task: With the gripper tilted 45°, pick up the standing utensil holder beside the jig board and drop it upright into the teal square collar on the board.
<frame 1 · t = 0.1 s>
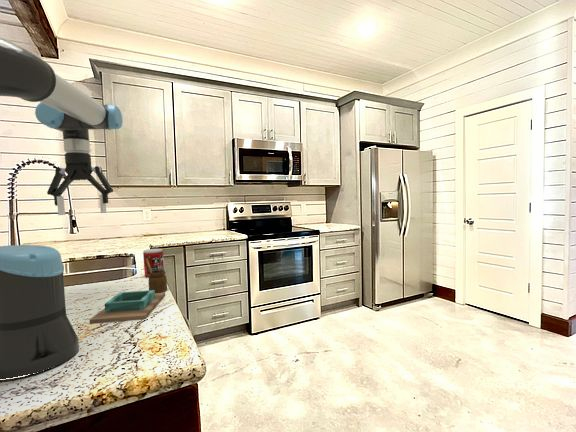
hand: (82, 214, 108), 28 cm above the counter, tool pointing down, fingers open, 13 cm apart
utensil holder: (158, 291, 108), on the counter
cradle jig: (131, 307, 92), on the counter
canned food: (154, 276, 131), on the counter
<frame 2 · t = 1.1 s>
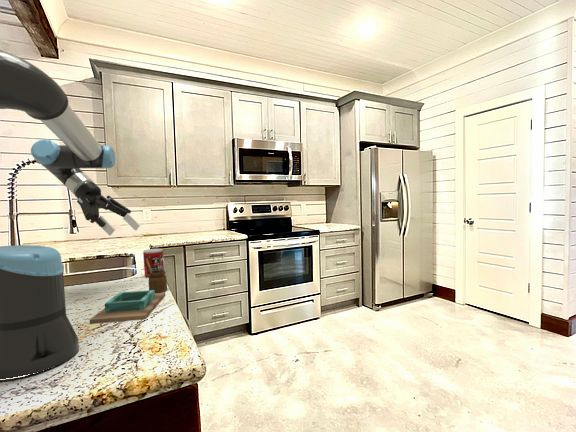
hand: (126, 230, 108), 22 cm above the counter, tool tilted 45°, fingers open, 13 cm apart
nothing on the counter moved.
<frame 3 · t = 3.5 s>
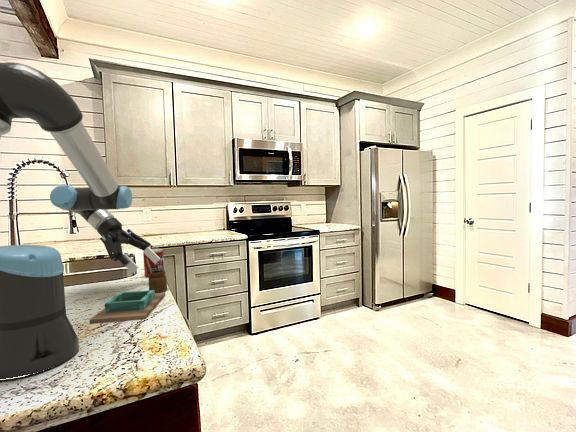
hand: (147, 265, 109), 9 cm above the counter, tool tilted 45°, fingers open, 13 cm apart
nothing on the counter moved.
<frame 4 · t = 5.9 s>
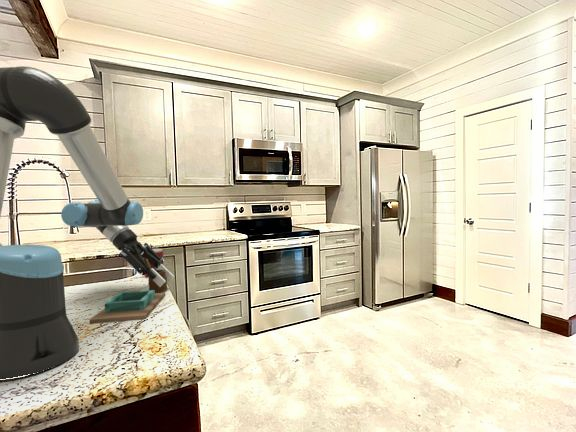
hand: (167, 281, 107), 3 cm above the counter, tool tilted 45°, fingers closed on utensil holder, 5 cm apart
utensil holder: (158, 291, 108), on the counter, touching gripper
everything else where it was.
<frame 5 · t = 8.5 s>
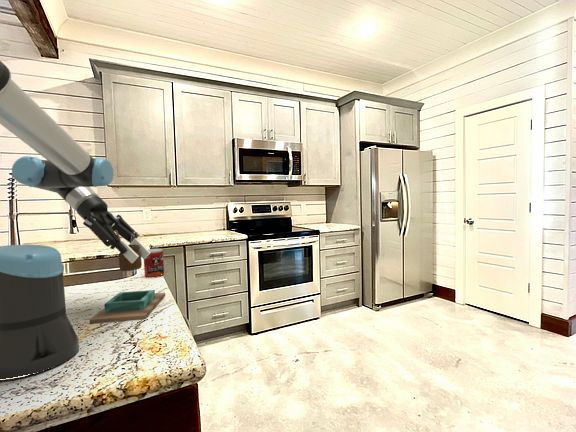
hand: (141, 257, 91), 15 cm above the counter, tool tilted 45°, fingers closed on utensil holder, 5 cm apart
utensil holder: (130, 269, 92), point 11 cm above the counter, touching gripper
everything else where it was.
when the fingers open (6 cm above the counter, at t = 11.2 s): utensil holder drops 1 cm, resting on cradle jig.
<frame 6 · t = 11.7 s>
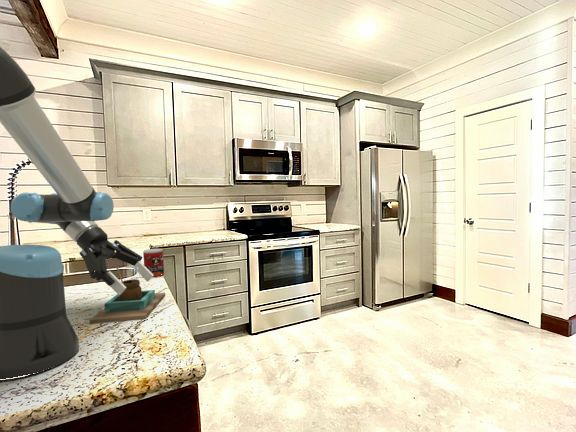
hand: (137, 284, 91), 7 cm above the counter, tool tilted 45°, fingers open, 13 cm apart
utensil holder: (131, 305, 92), point 1 cm above the counter, touching cradle jig
everything else where it was.
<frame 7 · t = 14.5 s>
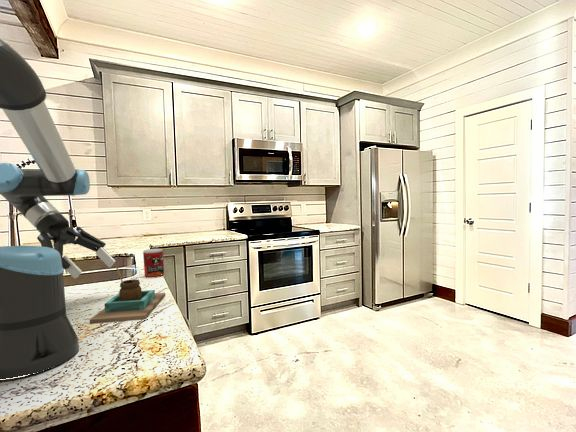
hand: (96, 269, 93), 12 cm above the counter, tool tilted 45°, fingers open, 13 cm apart
nothing on the counter moved.
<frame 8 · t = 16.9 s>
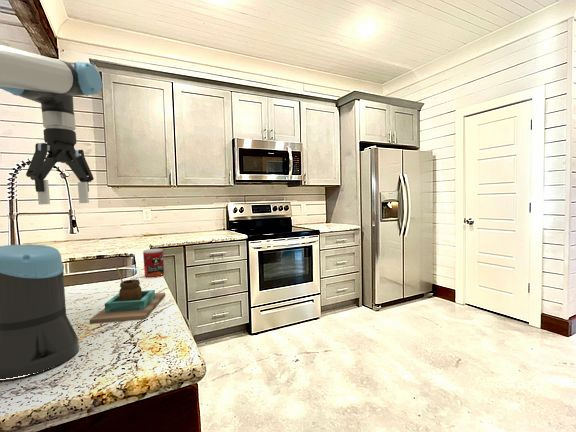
hand: (65, 203, 90), 32 cm above the counter, tool pointing down, fingers open, 13 cm apart
nothing on the counter moved.
at the end: utensil holder 0.3 cm off-centre on the cradle jig, point 0.8 cm above the cradle jig's base; utensil holder tilted 0°; the gripper is holding nothing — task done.
